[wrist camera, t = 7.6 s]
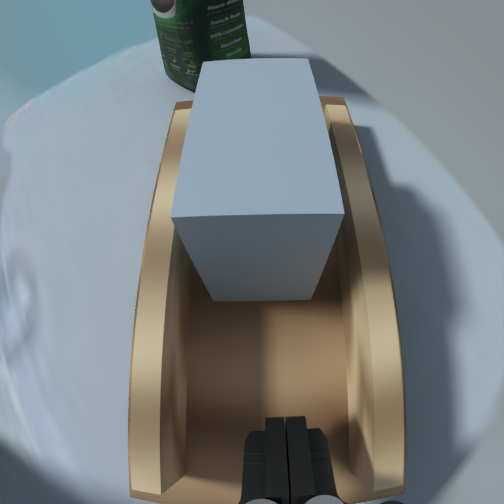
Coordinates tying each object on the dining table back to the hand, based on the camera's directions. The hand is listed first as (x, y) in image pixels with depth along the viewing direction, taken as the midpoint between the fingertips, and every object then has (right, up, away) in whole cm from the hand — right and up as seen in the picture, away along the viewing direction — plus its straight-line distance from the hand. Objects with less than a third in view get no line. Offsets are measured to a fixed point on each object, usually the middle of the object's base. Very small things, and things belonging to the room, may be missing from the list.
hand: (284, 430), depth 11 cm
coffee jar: (-6, +26, +20) cm, 34 cm away
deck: (0, +6, +9) cm, 11 cm away
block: (-1, +8, +7) cm, 11 cm away
